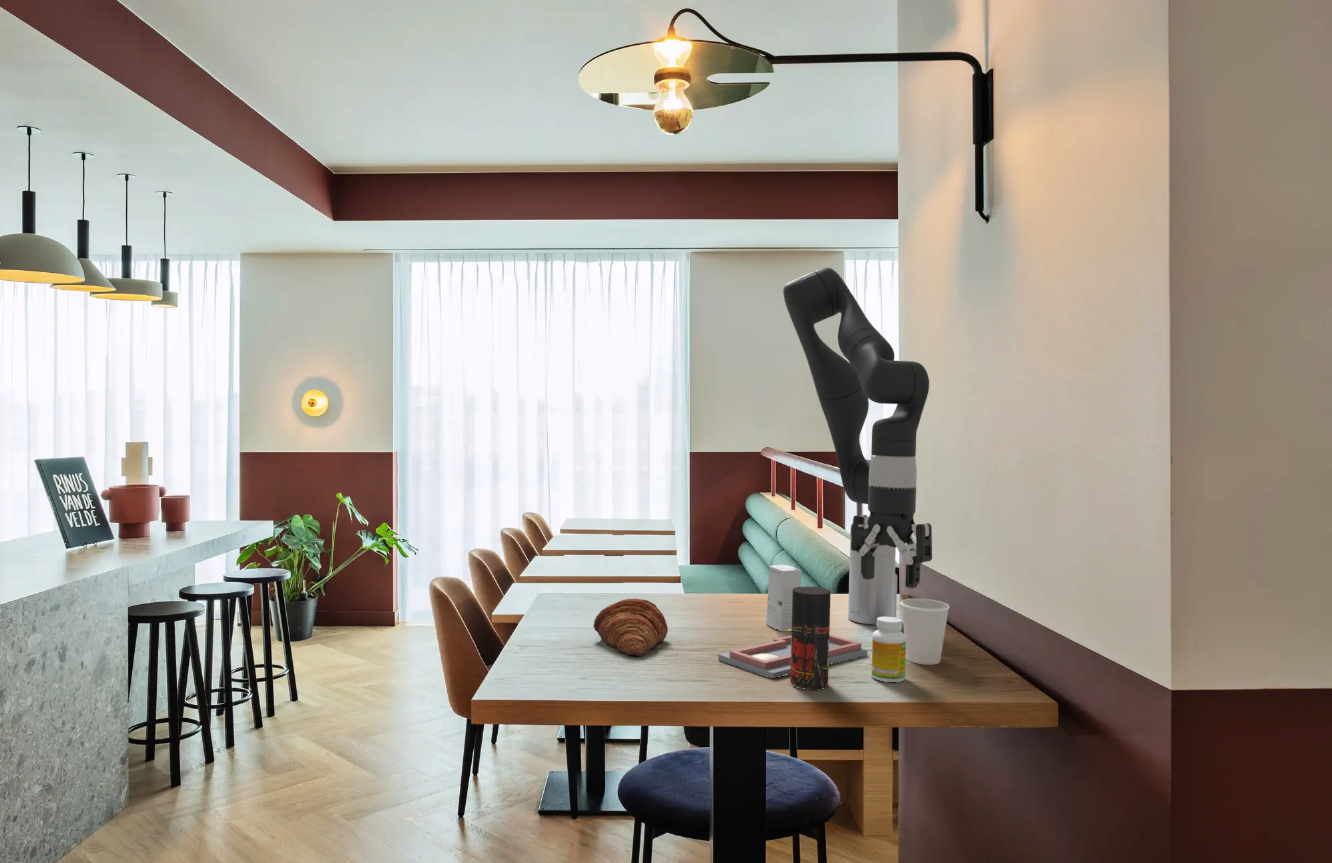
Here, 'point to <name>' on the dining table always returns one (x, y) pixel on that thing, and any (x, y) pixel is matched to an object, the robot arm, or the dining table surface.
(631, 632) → the pastry
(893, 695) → the dining table surface
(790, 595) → the skincare box
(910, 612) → the dixie cup
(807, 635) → the deodorant
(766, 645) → the pink-rimmed grey tray
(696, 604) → the dining table surface
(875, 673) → the supplement bottle
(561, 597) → the dining table surface
